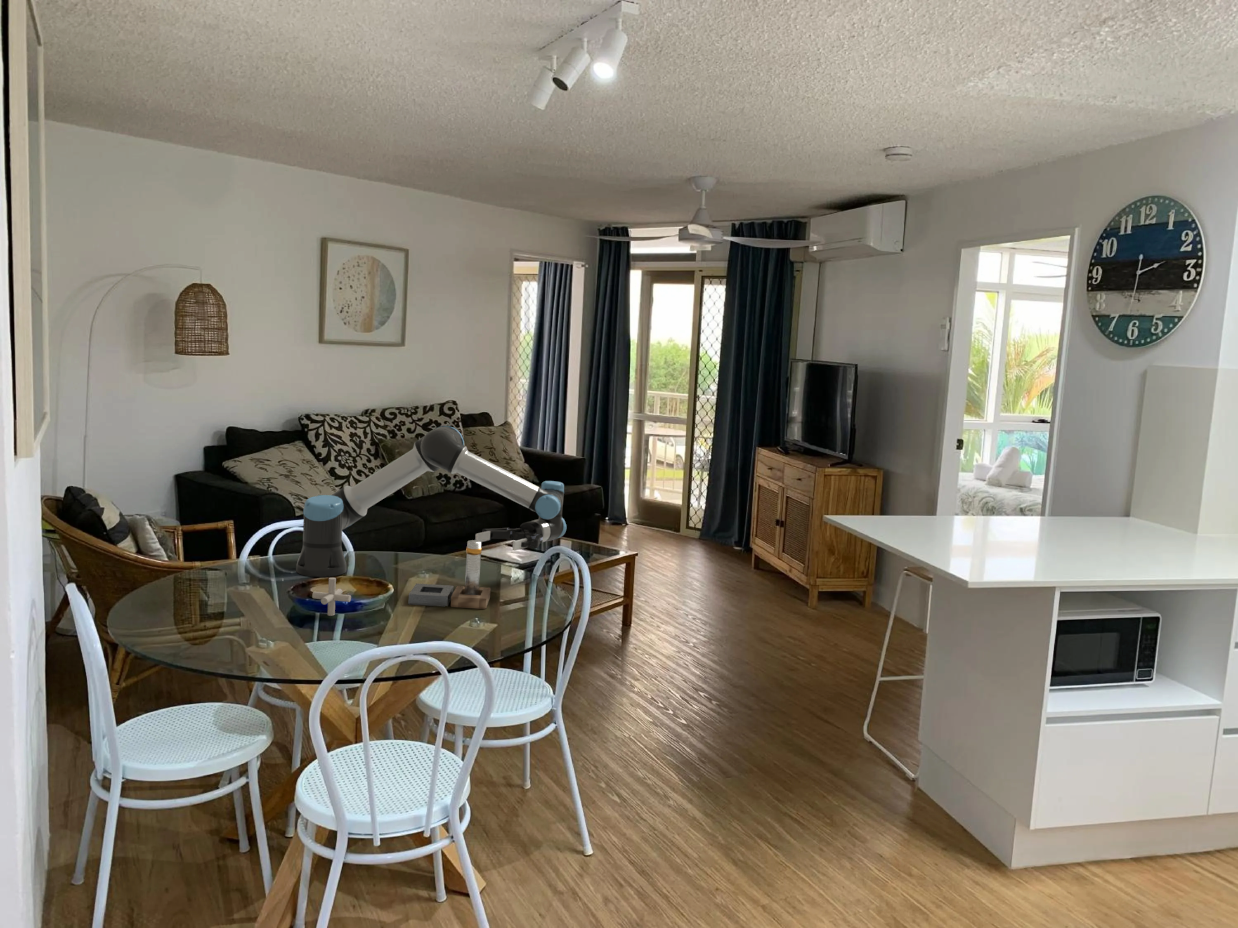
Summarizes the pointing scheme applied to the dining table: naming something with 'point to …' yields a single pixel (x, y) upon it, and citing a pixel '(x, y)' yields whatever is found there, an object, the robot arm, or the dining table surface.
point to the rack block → (470, 598)
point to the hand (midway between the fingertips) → (494, 542)
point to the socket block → (430, 595)
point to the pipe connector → (331, 596)
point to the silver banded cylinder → (472, 567)
